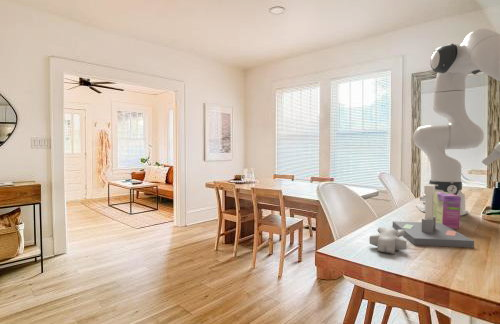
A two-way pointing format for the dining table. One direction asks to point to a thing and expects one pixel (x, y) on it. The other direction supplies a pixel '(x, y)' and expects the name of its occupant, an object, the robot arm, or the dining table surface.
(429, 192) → the breaker lever
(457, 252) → the dining table surface
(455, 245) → the breaker panel
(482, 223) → the dining table surface
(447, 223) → the box
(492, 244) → the dining table surface
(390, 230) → the bunny figurine
